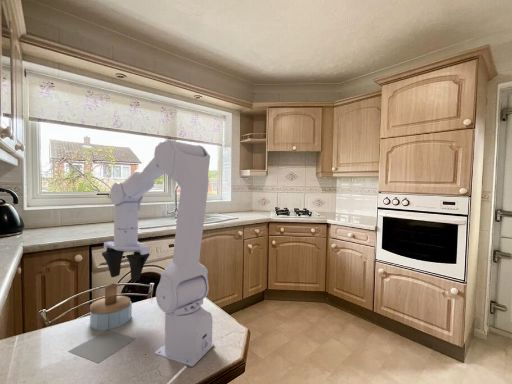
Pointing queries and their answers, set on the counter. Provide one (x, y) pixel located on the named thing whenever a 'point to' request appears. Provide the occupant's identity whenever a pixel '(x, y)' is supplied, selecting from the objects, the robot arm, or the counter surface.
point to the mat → (102, 346)
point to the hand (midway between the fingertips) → (125, 278)
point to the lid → (110, 302)
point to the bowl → (110, 319)
